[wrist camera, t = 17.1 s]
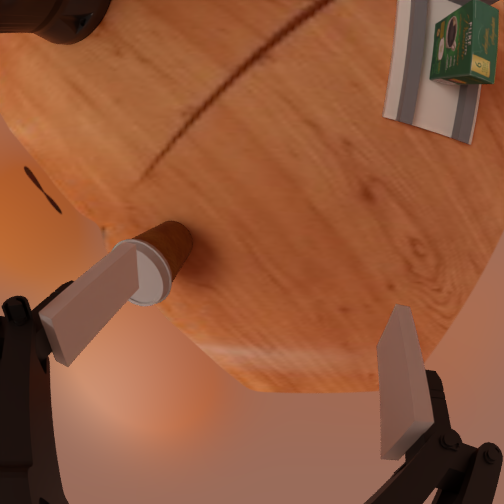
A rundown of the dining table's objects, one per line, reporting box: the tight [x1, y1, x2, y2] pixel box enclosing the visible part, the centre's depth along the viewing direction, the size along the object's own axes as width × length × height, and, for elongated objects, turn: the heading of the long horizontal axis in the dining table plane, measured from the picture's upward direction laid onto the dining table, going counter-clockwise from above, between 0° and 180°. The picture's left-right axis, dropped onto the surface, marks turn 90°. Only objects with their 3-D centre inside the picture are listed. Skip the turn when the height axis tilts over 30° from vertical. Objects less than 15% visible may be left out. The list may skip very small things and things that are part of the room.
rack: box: [382, 0, 499, 145], centre depth 24 cm, size 12×20×11 cm, turn 173°
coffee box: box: [429, 0, 499, 85], centre depth 22 cm, size 8×3×13 cm, turn 173°
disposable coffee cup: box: [112, 221, 193, 306], centre depth 44 cm, size 10×10×12 cm
